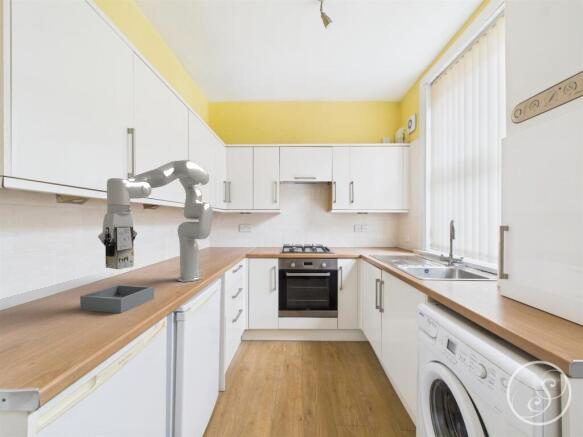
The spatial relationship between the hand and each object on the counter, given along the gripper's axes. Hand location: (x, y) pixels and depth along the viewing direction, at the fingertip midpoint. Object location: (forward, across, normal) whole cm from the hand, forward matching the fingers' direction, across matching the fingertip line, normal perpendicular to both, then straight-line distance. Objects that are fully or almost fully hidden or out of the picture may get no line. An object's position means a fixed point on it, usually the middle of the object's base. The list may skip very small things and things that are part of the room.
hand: (119, 254), depth 98 cm
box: (+20, 0, 0) cm, 20 cm away
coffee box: (+5, 0, 0) cm, 5 cm away
